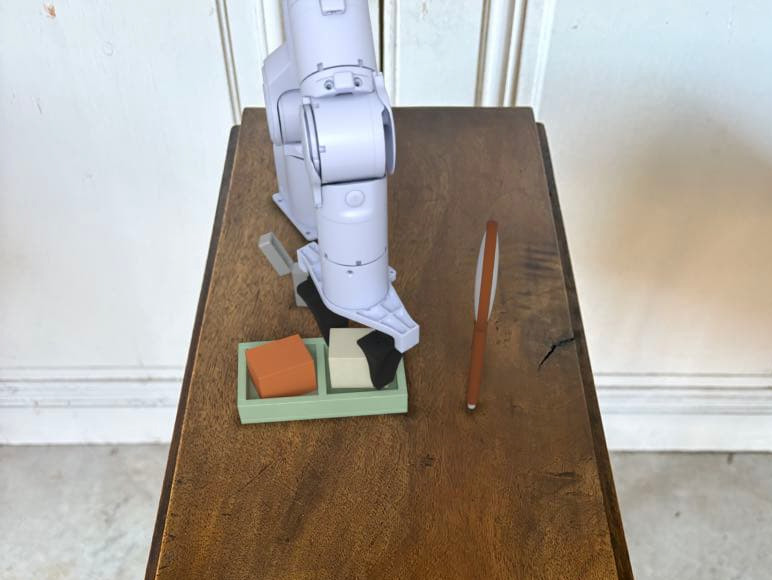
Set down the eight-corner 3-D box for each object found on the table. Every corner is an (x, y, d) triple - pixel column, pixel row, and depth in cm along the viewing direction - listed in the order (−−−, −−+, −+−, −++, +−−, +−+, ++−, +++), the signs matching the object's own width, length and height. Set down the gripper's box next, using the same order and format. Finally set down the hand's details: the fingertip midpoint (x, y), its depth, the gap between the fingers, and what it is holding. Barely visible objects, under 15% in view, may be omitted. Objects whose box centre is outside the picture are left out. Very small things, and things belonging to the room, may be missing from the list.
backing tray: (242, 360, 81) (238, 342, 79) (399, 350, 82) (399, 332, 80) (241, 424, 76) (237, 406, 74) (407, 412, 77) (407, 394, 75)
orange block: (302, 363, 80) (298, 333, 77) (317, 390, 78) (313, 360, 75) (250, 380, 79) (244, 350, 75) (264, 407, 77) (258, 378, 73)
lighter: (336, 296, 86) (330, 233, 79) (334, 307, 85) (328, 244, 78) (271, 293, 86) (260, 230, 79) (268, 304, 85) (257, 241, 78)
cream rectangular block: (388, 358, 79) (387, 327, 76) (388, 388, 77) (387, 358, 74) (332, 358, 79) (330, 327, 76) (331, 388, 77) (328, 358, 74)
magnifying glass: (476, 442, 75) (499, 269, 58) (458, 441, 75) (476, 267, 58) (483, 376, 80) (506, 197, 63) (466, 374, 80) (484, 196, 63)
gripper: (448, 266, 64) (441, 384, 75) (336, 183, 70) (345, 304, 81) (381, 306, 61) (384, 422, 73) (270, 216, 67) (289, 337, 79)
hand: (360, 362), depth 77 cm, fingers closed on cream rectangular block, 6 cm apart
